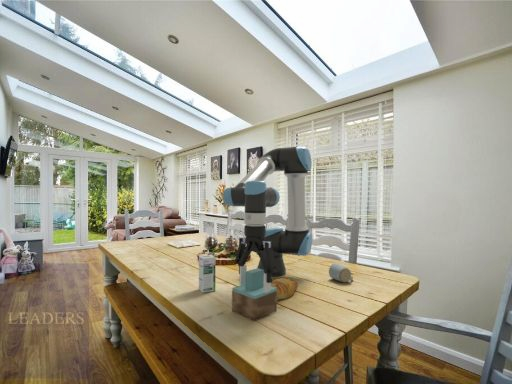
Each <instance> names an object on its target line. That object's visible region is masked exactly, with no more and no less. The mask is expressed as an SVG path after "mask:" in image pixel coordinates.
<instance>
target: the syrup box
mask: <svg viewBox="0 0 512 384" xmlns="http://www.w3.org/2000/svg"><path fill="white" fill-rule="evenodd" d="M198 289H199V290H200V292H201V293H202V294H205V293H209V292H216V256H215V255H214V254H205V255H199V256H198Z"/></svg>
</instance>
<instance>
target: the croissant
mask: <svg viewBox="0 0 512 384" xmlns="http://www.w3.org/2000/svg"><path fill="white" fill-rule="evenodd" d="M271 286H272V287H275V288H277V301H281V300H284V299H288V298H290V297H291V296H293V295H294V293H295V291H296V290H297V288H298V282H297V281H294V280H290V279H289V278H287V277H280V278H277V279H276V278H275V279H274V280H272V282H271Z"/></svg>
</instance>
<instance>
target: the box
mask: <svg viewBox="0 0 512 384" xmlns="http://www.w3.org/2000/svg"><path fill="white" fill-rule="evenodd" d="M231 293H232V295H231V297H232V298H231V311H232V312H234V313H235V314H237V315H240V316H242V317H245V318H247V319H249V320H251V321H254V322H256V321H258V320H260V319H262V318H265V317H266V316H269V315H271V314H273V313H275V312H277V311H278V310H277V307H278V306H277V305H278V303H277V302H278V300H277V291H275V292H272V293H270V294H267V295H264V296H262V297H259V298H257V299H253V298H251V297H248V296H245V295H242V294H240V293H237V292H234V291H232V290H231Z"/></svg>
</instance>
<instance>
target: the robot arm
mask: <svg viewBox="0 0 512 384" xmlns="http://www.w3.org/2000/svg"><path fill="white" fill-rule="evenodd" d="M312 164H313V163H312V157H311V152H310V150H309V149H308V148H307V147H306V146H291V147H290V146H289V147H288V146H287V147H278V148H277V147H276V148H274V149H271V150H269V151H268V152H266V153H264V154H263V155H262V156H261V157H260V158H258V159H257V162H256V164H255V165H254V167H253V168H252V169H251V170H250V171H249V172H247V174H246V175H245V176H244V177H243V178H241V180H240V181H239V182H238V183H237V184H236V185H235V186H234V187H232V186H231V187H227V188H225V189H224V191H223V192H222V200H223V203H224V204H225V205H226V206H231V207H244V224H245V225H244V227H243V228H244V229H243V230H244V232H243V233H244V237H240V238H239V239H238V247H237V251H236V254H235V259H234V263H235V264H237V265H238V275H239V286H240V285H243V284H245V280H246V271H247V266H248V265H246V264H247V261H248V259H249V257H250V255H251V253H252V252H253V253H256V255H258V258H259V261H258V265H257V268H258V269H262V270H264V293H267V292H270V291H271V283H272V282H273V277H281V276H285V275H286V274H287V267H286V264H285V261H284V258H283V257H284V255H290V256H291V255H292V256H298V257H299V256H308V255H309V253H310V252H311V249H312V246H313V245H312V244H313V233H312V232H310V231H309V227H308V226H307V225H306V185H305V183H306V177H307V176H308V174H309V172H308V171H310V170H311V169H312ZM274 172H283V175H284V176H285V177H286V179H287V185H286V186H287V225H286V227H284V228H283V227H273V228H272V227H271V228H267V226H266V224H267V208H272V207H275V206H277V204H278V203H279V202H280V194H279V191H278V190H277V189H275V188H273V187H267V183H266V181H265V180H266V179H267V177H268V176H269V175H270V176H271V175H272V174H273V173H274ZM257 268H256V269H257Z"/></svg>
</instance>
